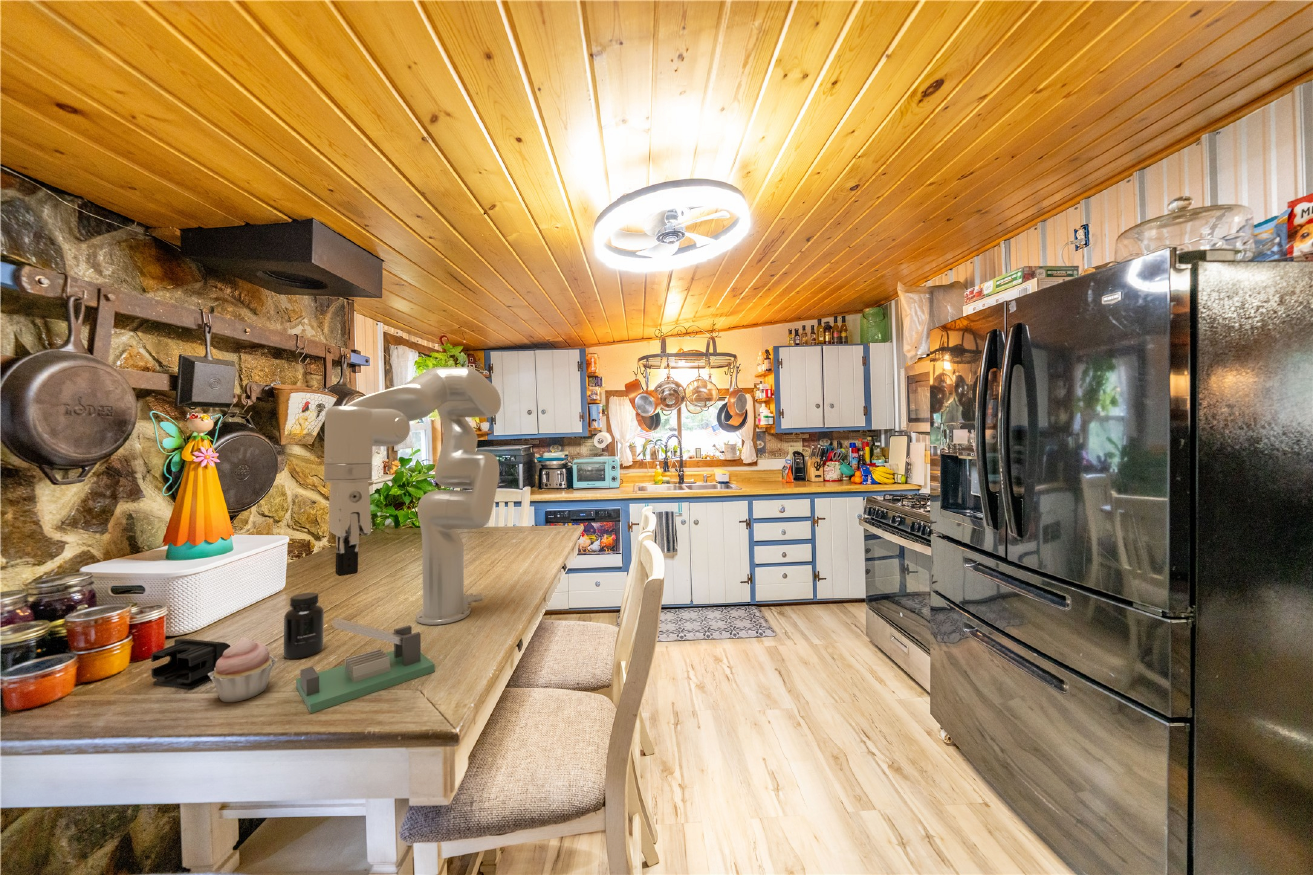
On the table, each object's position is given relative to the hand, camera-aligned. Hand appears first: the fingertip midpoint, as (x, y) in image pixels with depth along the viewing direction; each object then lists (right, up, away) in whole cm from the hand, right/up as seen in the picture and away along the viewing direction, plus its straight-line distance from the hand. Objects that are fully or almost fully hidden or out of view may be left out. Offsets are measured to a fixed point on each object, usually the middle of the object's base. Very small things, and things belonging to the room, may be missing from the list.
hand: (346, 573), depth 90 cm
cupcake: (-17, -21, -3) cm, 27 cm away
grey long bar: (+3, -13, +3) cm, 13 cm away
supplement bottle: (-17, -20, +13) cm, 30 cm away
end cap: (-31, -21, +3) cm, 37 cm away
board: (+3, -20, +2) cm, 21 cm away
